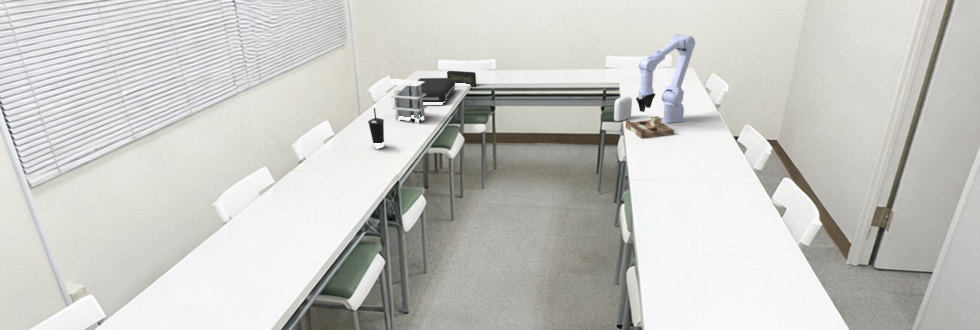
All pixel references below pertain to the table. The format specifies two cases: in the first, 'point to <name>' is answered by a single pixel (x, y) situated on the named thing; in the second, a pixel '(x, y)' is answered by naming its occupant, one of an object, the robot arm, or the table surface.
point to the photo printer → (622, 108)
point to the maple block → (656, 121)
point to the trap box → (648, 129)
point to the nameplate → (463, 77)
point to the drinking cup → (377, 129)
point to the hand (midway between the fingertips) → (645, 109)
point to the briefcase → (436, 89)
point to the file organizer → (408, 98)
